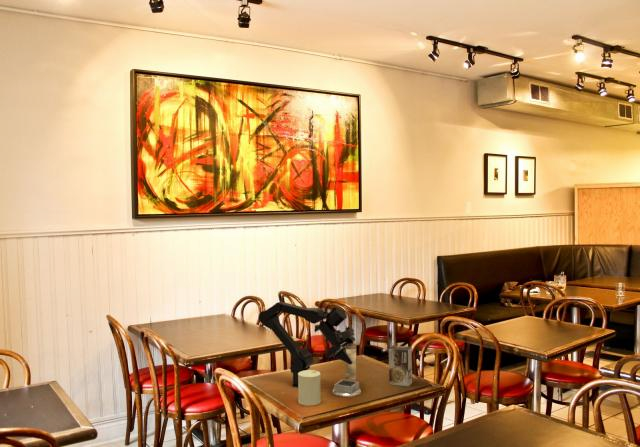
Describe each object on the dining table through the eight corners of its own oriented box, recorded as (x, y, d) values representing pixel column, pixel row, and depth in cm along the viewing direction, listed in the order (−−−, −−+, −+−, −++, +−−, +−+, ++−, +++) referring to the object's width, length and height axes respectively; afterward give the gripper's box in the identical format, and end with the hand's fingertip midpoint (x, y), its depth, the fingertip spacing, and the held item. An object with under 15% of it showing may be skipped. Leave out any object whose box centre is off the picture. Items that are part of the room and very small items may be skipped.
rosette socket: (327, 394, 229) (327, 385, 229) (339, 385, 240) (339, 377, 240) (354, 398, 224) (354, 389, 224) (365, 389, 234) (365, 381, 234)
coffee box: (412, 382, 244) (412, 346, 243) (408, 387, 238) (408, 350, 237) (392, 380, 247) (392, 344, 247) (388, 384, 242) (388, 348, 241)
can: (325, 401, 221) (325, 371, 221) (310, 407, 214) (309, 377, 214) (308, 396, 227) (308, 367, 227) (293, 402, 220) (293, 372, 220)
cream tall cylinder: (343, 378, 230) (344, 345, 229) (348, 376, 234) (348, 343, 233) (353, 380, 228) (353, 347, 227) (357, 377, 232) (357, 344, 231)
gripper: (333, 325, 223) (357, 356, 219) (351, 317, 240) (374, 345, 235) (315, 342, 227) (339, 372, 223) (335, 333, 244) (357, 361, 239)
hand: (353, 362), depth 230 cm, fingers closed on cream tall cylinder, 4 cm apart
